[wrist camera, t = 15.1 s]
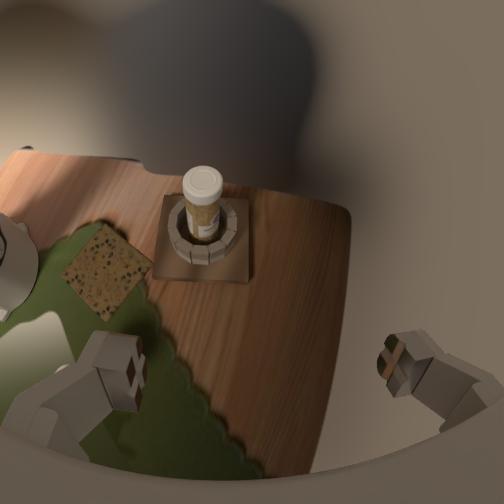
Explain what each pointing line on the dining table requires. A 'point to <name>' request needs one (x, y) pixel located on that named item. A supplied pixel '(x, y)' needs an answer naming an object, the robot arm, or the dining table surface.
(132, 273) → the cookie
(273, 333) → the dining table surface
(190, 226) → the sprinkles bottle
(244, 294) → the dining table surface
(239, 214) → the collar stand
